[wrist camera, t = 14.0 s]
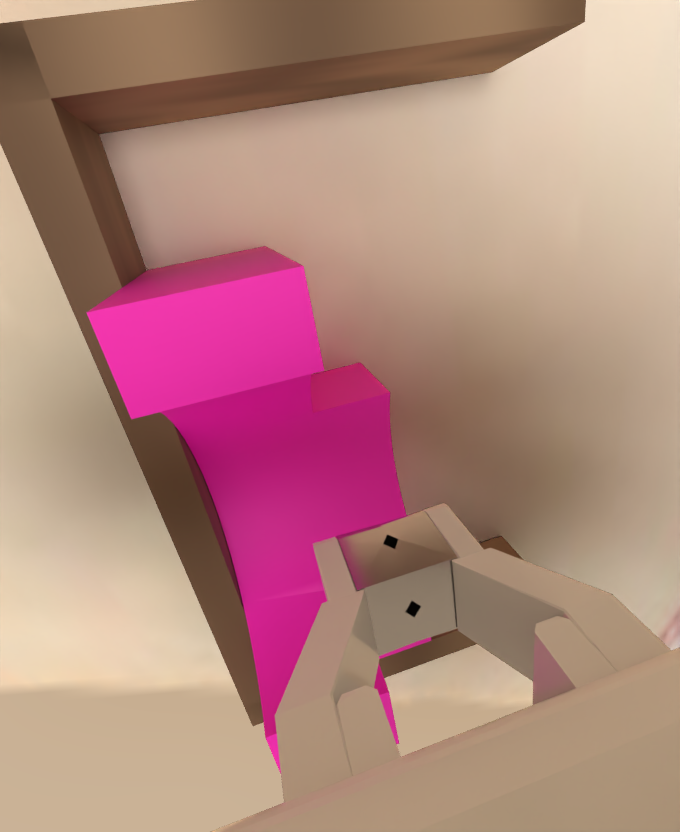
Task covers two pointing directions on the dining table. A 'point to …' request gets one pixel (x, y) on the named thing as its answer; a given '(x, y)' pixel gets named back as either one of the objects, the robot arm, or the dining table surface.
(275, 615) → the toy block
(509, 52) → the walnut bay
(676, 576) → the dining table surface
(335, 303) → the dining table surface
